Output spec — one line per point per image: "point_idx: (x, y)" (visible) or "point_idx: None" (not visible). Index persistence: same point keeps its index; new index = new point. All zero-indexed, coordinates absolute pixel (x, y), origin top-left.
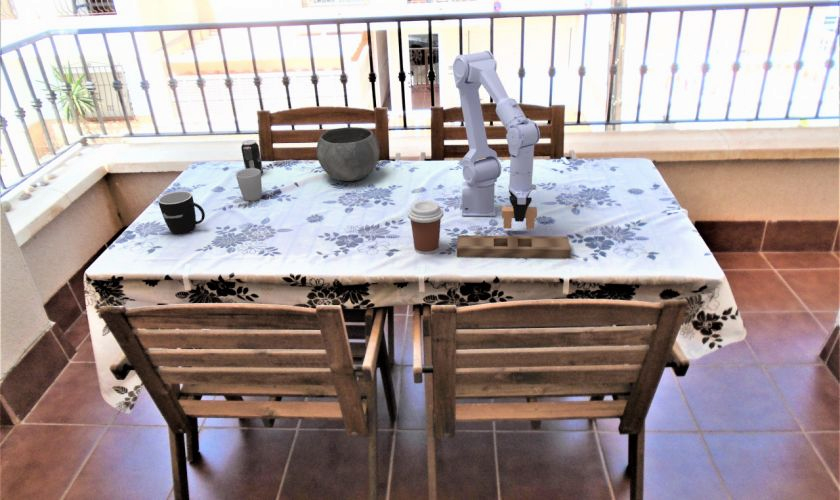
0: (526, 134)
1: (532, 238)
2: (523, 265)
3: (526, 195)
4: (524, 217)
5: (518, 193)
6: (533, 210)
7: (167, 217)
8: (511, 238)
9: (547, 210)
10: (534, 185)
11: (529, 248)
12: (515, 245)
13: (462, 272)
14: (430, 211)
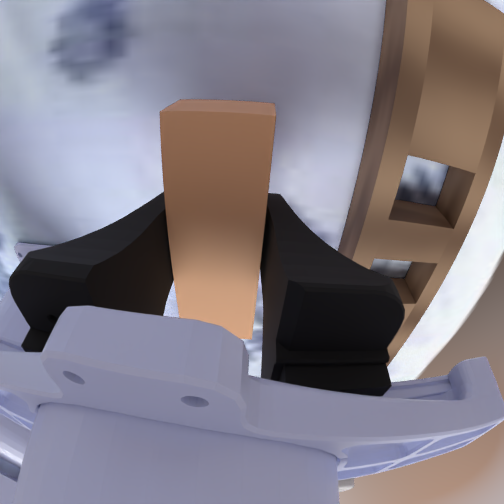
0: None
1: (409, 148)
2: (491, 202)
3: (471, 422)
4: (286, 203)
5: (393, 463)
6: (248, 146)
7: None
8: (382, 243)
9: (7, 45)
10: (98, 386)
11: (482, 189)
12: (442, 236)
13: (444, 337)
14: (352, 486)
